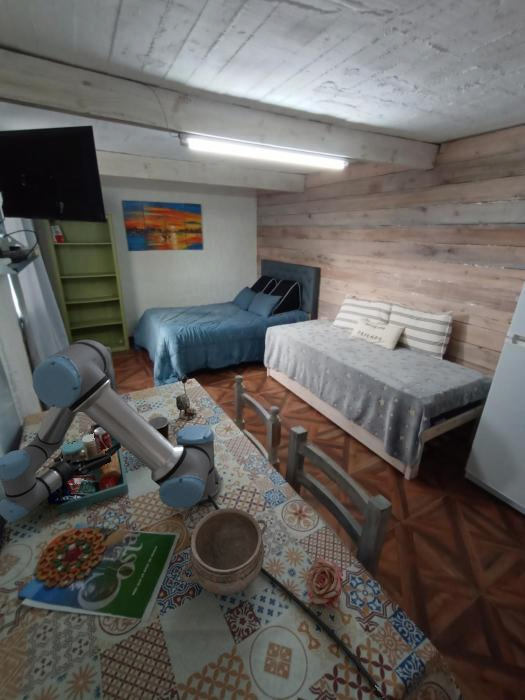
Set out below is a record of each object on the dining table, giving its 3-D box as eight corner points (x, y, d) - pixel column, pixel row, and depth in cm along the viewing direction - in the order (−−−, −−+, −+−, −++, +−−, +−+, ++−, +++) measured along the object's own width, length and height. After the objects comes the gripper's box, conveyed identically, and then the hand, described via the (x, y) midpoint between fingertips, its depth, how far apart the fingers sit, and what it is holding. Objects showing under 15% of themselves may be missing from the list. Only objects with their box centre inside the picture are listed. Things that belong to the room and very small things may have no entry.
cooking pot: (202, 639, 69) (199, 603, 64) (168, 570, 83) (163, 536, 78) (287, 569, 83) (289, 536, 79) (245, 520, 97) (246, 489, 93)
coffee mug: (167, 449, 127) (165, 428, 123) (146, 449, 127) (143, 428, 124) (175, 432, 138) (173, 412, 134) (155, 431, 138) (153, 412, 134)
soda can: (95, 458, 121) (90, 432, 117) (105, 450, 126) (100, 424, 122) (106, 461, 120) (101, 435, 116) (116, 452, 125) (111, 427, 120)
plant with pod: (171, 418, 148) (168, 380, 141) (190, 408, 157) (187, 371, 150) (183, 424, 144) (180, 385, 137) (201, 413, 152) (199, 376, 145)
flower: (322, 557, 85) (311, 550, 80) (355, 574, 79) (345, 568, 74) (309, 598, 80) (296, 592, 76) (342, 619, 74) (331, 615, 70)
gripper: (31, 476, 109) (83, 440, 127) (85, 497, 101) (133, 456, 119) (25, 458, 106) (80, 424, 125) (81, 479, 98) (130, 439, 117)
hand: (106, 439), depth 122 cm, fingers open, 13 cm apart
